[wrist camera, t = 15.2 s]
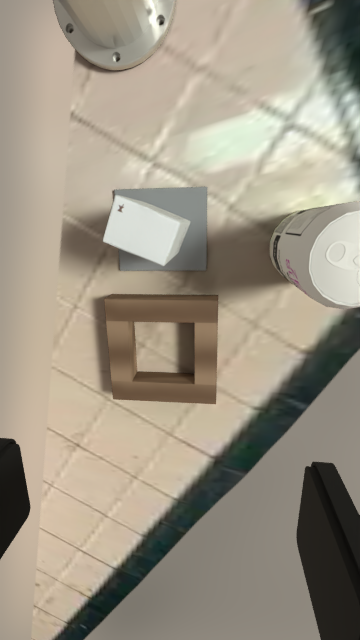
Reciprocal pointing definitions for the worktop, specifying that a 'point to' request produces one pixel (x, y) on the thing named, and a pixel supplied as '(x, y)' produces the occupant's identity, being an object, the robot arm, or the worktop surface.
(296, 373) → the worktop surface
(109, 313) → the holder block
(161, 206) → the rubber mat
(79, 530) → the worktop surface
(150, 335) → the worktop surface
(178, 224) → the skincare box
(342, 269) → the supplement can
